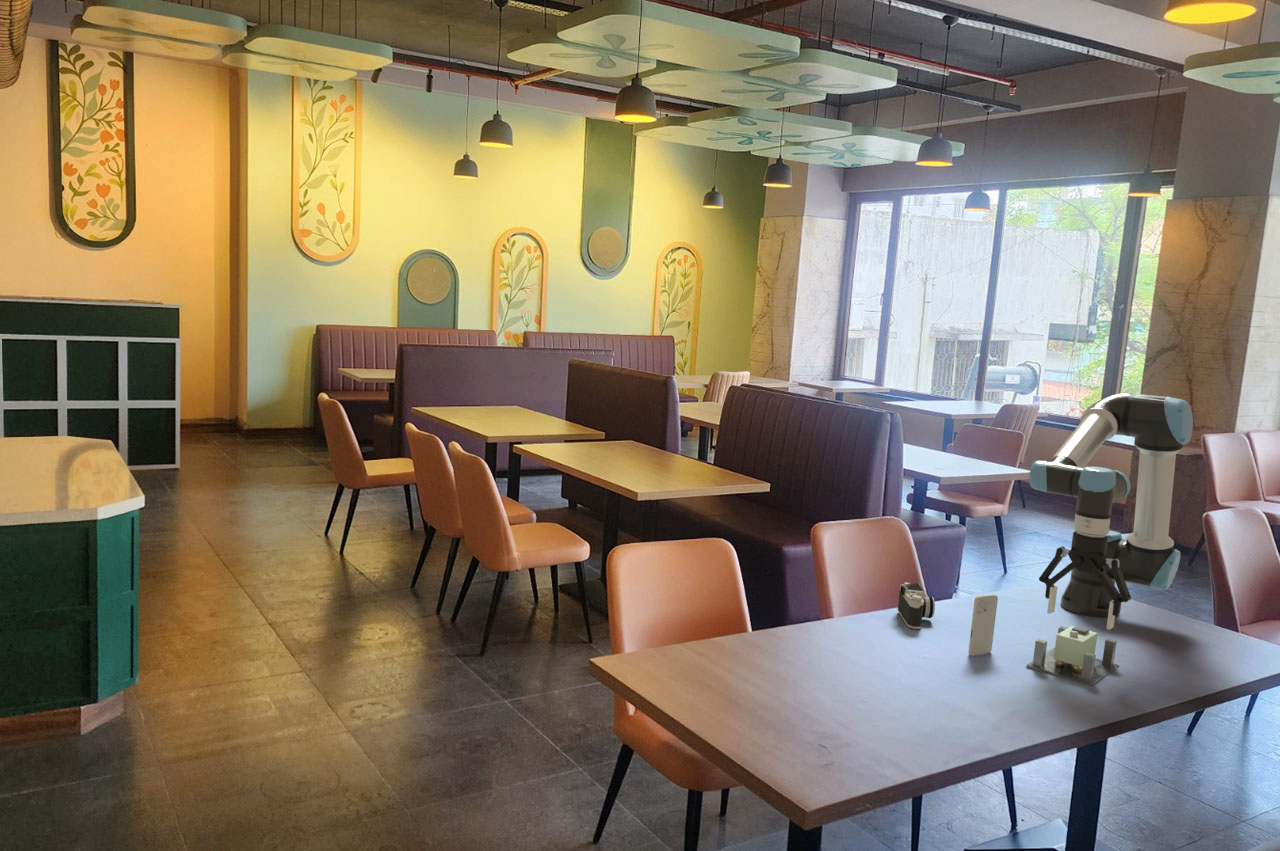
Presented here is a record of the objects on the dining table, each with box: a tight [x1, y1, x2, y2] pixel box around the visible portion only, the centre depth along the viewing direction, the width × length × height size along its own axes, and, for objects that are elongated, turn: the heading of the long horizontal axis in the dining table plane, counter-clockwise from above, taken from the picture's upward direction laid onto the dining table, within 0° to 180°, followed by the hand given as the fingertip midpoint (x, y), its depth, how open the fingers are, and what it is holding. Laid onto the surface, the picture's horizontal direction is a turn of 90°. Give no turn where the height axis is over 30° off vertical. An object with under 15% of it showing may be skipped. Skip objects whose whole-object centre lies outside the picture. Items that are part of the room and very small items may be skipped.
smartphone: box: [968, 593, 999, 657], centre depth 239 cm, size 7×1×15 cm, turn 118°
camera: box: [897, 582, 936, 630], centre depth 264 cm, size 16×9×10 cm, turn 177°
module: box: [1054, 625, 1098, 667], centre depth 233 cm, size 10×6×7 cm, turn 137°
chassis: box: [1026, 625, 1120, 687], centre depth 234 cm, size 19×15×7 cm
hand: (1079, 620), depth 233 cm, fingers open, 13 cm apart
